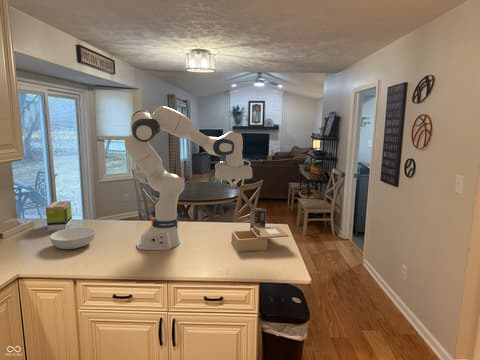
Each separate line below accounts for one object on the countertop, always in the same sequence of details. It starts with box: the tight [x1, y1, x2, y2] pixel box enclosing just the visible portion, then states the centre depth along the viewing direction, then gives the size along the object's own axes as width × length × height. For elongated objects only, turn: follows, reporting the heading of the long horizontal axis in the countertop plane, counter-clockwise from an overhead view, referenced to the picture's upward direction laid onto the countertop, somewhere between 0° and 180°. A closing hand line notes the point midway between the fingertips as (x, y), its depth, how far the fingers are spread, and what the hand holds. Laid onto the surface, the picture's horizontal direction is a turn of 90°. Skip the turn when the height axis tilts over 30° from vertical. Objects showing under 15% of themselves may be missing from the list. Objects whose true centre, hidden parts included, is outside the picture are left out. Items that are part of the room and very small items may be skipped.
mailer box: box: [231, 229, 269, 254], centre depth 168 cm, size 16×14×7 cm
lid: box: [249, 226, 290, 239], centre depth 170 cm, size 17×15×3 cm
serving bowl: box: [49, 226, 96, 250], centre depth 163 cm, size 21×21×7 cm
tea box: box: [45, 200, 73, 232], centre depth 191 cm, size 15×10×15 cm, turn 14°
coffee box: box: [249, 207, 267, 229], centre depth 186 cm, size 9×6×16 cm
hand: (233, 187), depth 172 cm, fingers closed
